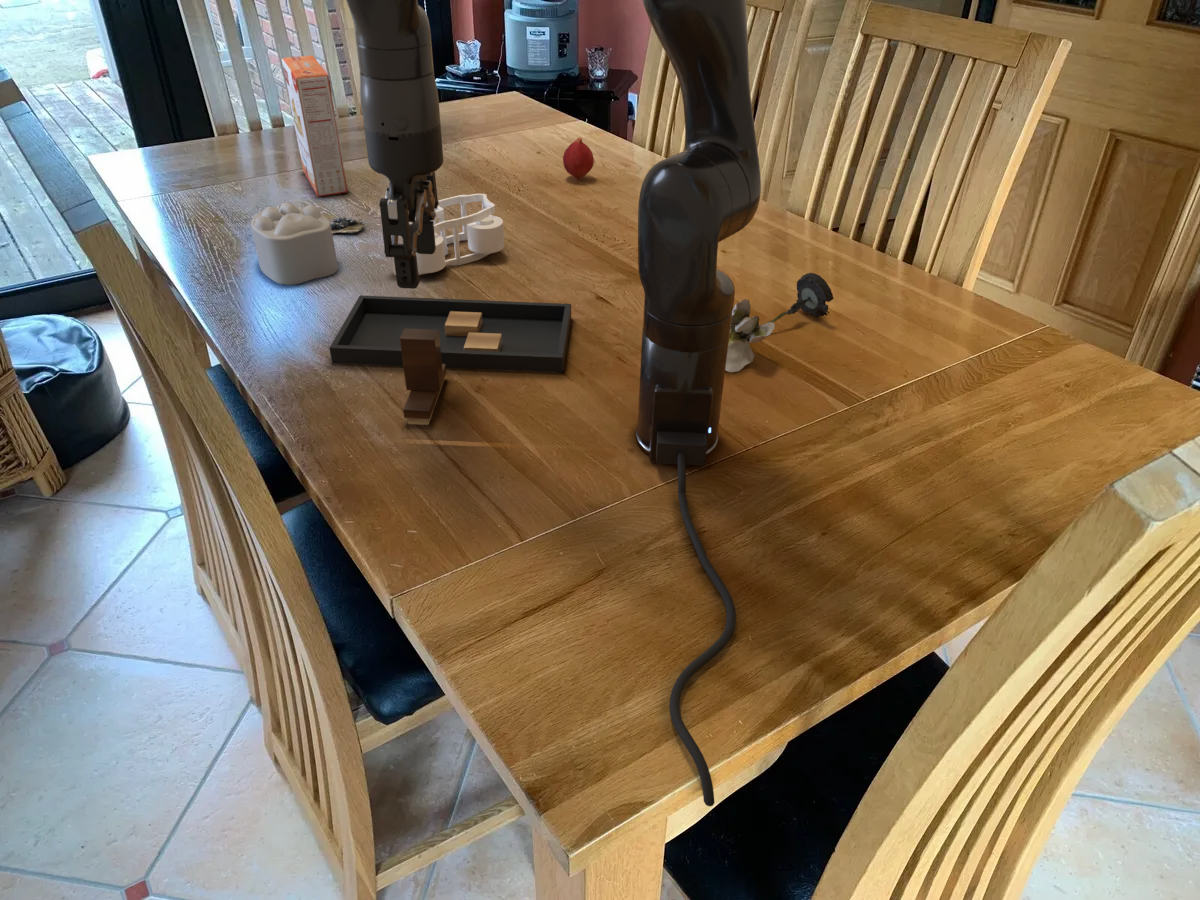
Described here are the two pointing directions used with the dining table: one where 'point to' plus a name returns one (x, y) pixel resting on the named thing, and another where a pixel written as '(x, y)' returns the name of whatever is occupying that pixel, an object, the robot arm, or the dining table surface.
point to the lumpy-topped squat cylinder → (294, 243)
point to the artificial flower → (747, 328)
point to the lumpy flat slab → (346, 225)
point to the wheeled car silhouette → (462, 234)
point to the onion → (578, 159)
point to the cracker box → (315, 124)
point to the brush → (421, 373)
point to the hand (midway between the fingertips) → (417, 269)
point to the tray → (525, 327)
